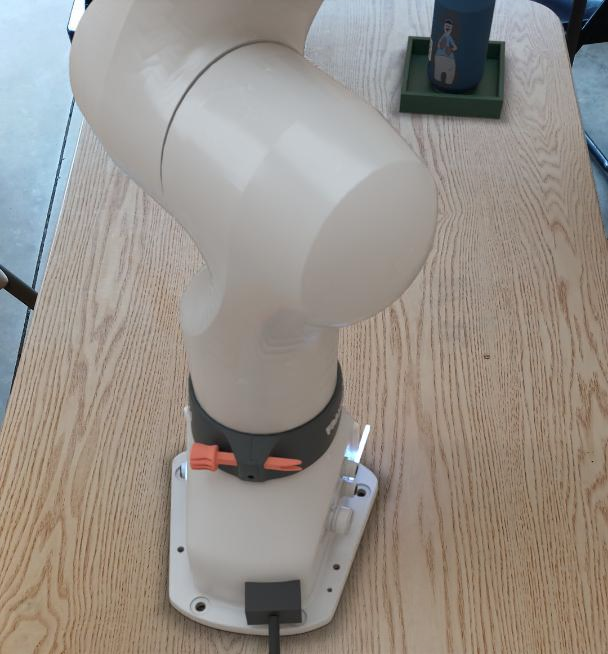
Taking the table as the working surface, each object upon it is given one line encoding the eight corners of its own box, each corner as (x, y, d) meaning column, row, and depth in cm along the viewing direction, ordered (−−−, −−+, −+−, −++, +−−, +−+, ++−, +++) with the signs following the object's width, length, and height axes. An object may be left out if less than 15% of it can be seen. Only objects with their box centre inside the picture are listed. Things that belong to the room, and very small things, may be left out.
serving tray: (499, 119, 101) (503, 100, 98) (399, 112, 102) (400, 93, 99) (502, 60, 106) (505, 41, 104) (406, 54, 107) (408, 35, 105)
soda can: (479, 65, 105) (496, -38, 95) (483, 99, 102) (502, -5, 91) (424, 66, 105) (435, -38, 95) (426, 99, 102) (438, -4, 92)
